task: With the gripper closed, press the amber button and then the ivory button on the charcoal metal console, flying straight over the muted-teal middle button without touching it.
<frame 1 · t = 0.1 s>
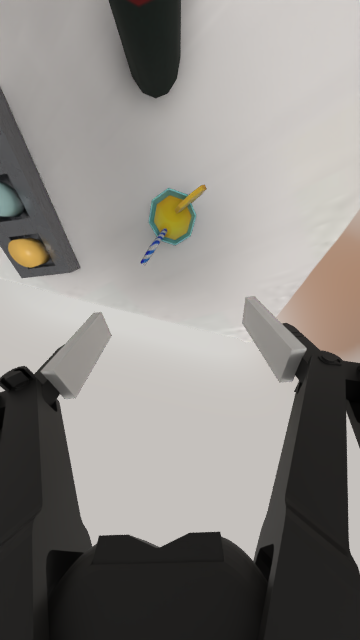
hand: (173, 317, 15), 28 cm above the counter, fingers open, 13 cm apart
cup: (171, 223, 34), on the counter
console: (21, 201, 32), on the counter
button amber: (30, 252, 33), point 5 cm above the counter, slide at 0.0 cm
wine bottle: (157, 44, 23), on the counter
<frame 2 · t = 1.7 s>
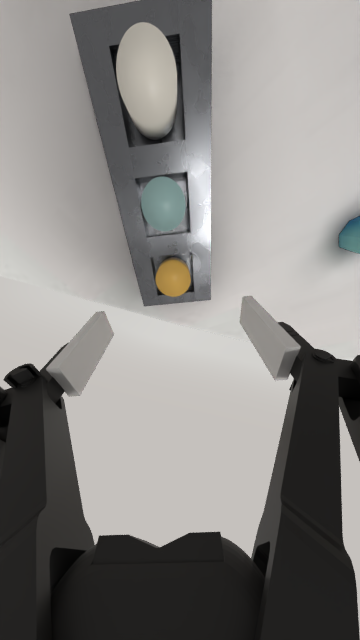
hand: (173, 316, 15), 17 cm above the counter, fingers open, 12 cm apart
cup: (348, 237, 26), on the counter
console: (166, 209, 24), on the counter
button teal: (164, 207, 20), point 5 cm above the counter, slide at 0.0 cm
button amber: (173, 276, 25), point 5 cm above the counter, slide at 0.0 cm
button ivory: (150, 92, 15), point 5 cm above the counter, slide at 0.0 cm
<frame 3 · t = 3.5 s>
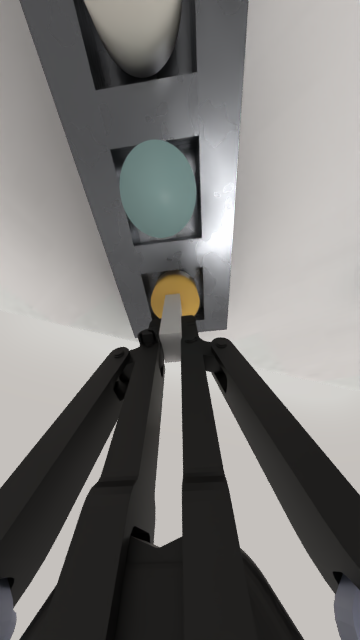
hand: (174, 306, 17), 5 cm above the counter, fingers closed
console: (165, 203, 16), on the counter
button teal: (160, 198, 12), point 5 cm above the counter, slide at 0.0 cm
button amber: (175, 296, 18), point 3 cm above the counter, slide at 1.3 cm, touching gripper
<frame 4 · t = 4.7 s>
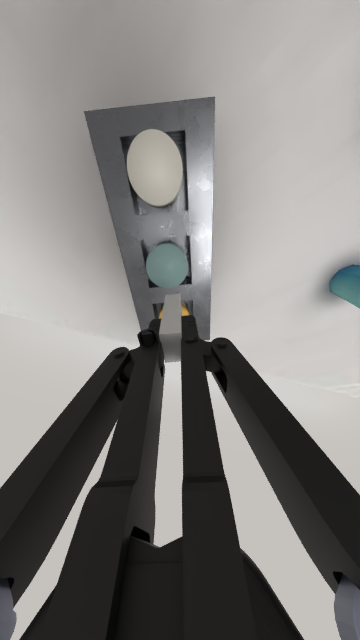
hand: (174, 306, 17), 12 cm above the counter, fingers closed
cup: (338, 283, 28), on the counter
console: (168, 258, 25), on the counter
button teal: (167, 264, 21), point 5 cm above the counter, slide at 0.0 cm
button amber: (174, 316, 27), point 3 cm above the counter, slide at 1.6 cm
button ivory: (156, 175, 16), point 5 cm above the counter, slide at 0.0 cm
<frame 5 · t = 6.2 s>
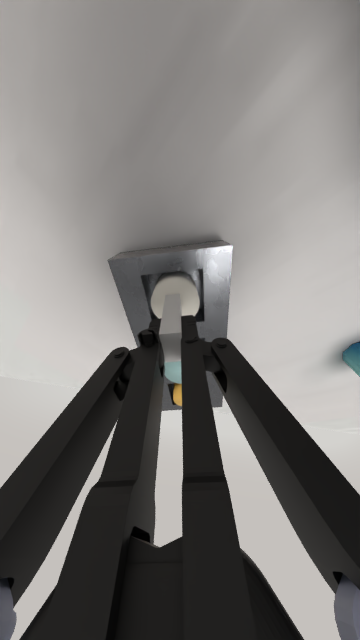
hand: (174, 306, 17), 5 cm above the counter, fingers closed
cup: (352, 353, 28), on the counter
console: (182, 339, 26), on the counter
button teal: (183, 361, 22), point 5 cm above the counter, slide at 0.0 cm
button amber: (188, 389, 28), point 3 cm above the counter, slide at 1.6 cm
button ivory: (175, 297, 18), point 3 cm above the counter, slide at 1.5 cm, touching gripper
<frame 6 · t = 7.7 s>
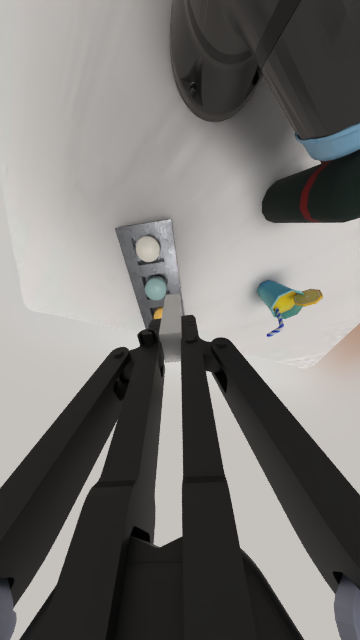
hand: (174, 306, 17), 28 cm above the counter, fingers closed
cup: (263, 290, 46), on the counter
console: (158, 281, 44), on the counter
button teal: (156, 287, 40), point 5 cm above the counter, slide at 0.0 cm
button amber: (163, 315, 46), point 3 cm above the counter, slide at 1.6 cm
wine bottle: (283, 196, 34), on the counter
button ivory: (148, 248, 36), point 3 cm above the counter, slide at 1.6 cm
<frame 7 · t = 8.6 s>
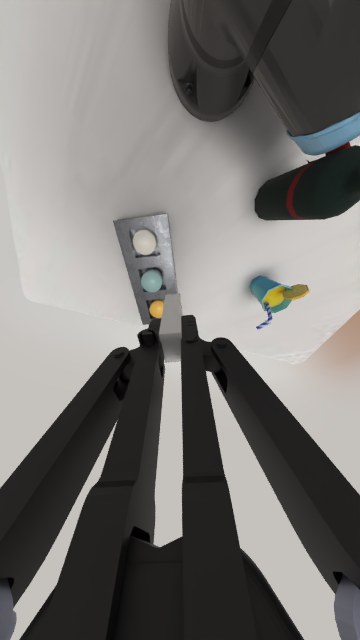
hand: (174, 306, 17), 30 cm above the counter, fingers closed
cup: (256, 286, 48), on the counter
console: (154, 275, 45), on the counter
button teal: (152, 280, 41), point 5 cm above the counter, slide at 0.0 cm
button amber: (159, 307, 47), point 3 cm above the counter, slide at 1.6 cm
wine bottle: (275, 194, 36), on the counter
button ivory: (145, 242, 38), point 3 cm above the counter, slide at 1.6 cm
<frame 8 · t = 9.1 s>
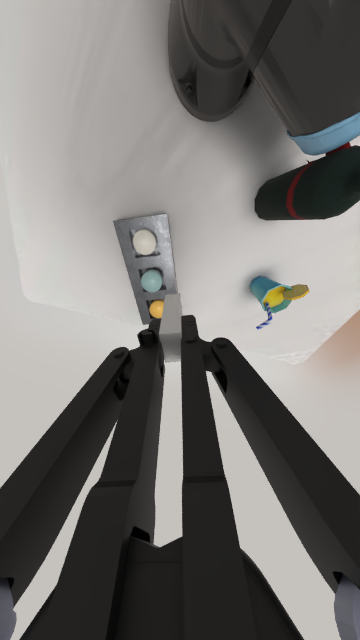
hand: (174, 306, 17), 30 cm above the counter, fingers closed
cup: (256, 286, 48), on the counter
console: (154, 275, 45), on the counter
button teal: (152, 280, 41), point 5 cm above the counter, slide at 0.0 cm
button amber: (159, 307, 47), point 3 cm above the counter, slide at 1.6 cm
wine bottle: (275, 194, 36), on the counter
button ivory: (145, 242, 38), point 3 cm above the counter, slide at 1.6 cm
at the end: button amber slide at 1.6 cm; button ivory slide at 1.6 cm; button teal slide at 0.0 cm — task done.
